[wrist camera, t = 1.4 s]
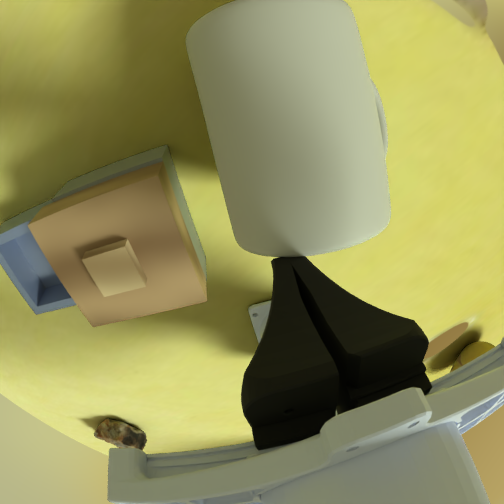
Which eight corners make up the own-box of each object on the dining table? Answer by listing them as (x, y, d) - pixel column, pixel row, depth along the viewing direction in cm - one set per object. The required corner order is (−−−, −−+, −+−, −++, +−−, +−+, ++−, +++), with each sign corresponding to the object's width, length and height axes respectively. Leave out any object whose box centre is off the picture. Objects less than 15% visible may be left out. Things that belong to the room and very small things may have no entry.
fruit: (453, 339, 41) (482, 385, 33) (495, 321, 42) (522, 360, 34) (430, 376, 47) (452, 418, 39) (472, 358, 48) (494, 394, 40)
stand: (205, 256, 25) (207, 280, 22) (117, 280, 25) (111, 304, 22) (167, 144, 19) (161, 157, 17) (67, 181, 19) (51, 199, 17)
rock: (111, 410, 38) (80, 432, 38) (121, 445, 34) (88, 463, 34) (152, 418, 44) (119, 438, 45) (163, 448, 40) (128, 466, 41)
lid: (205, 278, 22) (207, 309, 19) (99, 304, 22) (90, 335, 19) (163, 161, 17) (156, 180, 14) (42, 207, 17) (21, 231, 14)
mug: (161, 56, 14) (208, 238, 18) (240, -25, 7) (309, 279, 11) (316, 49, 19) (345, 184, 23) (413, 21, 12) (443, 194, 16)
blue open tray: (113, 273, 24) (106, 297, 22) (46, 292, 24) (36, 314, 22) (71, 190, 20) (56, 208, 17) (3, 222, 20) (-14, 241, 17)
